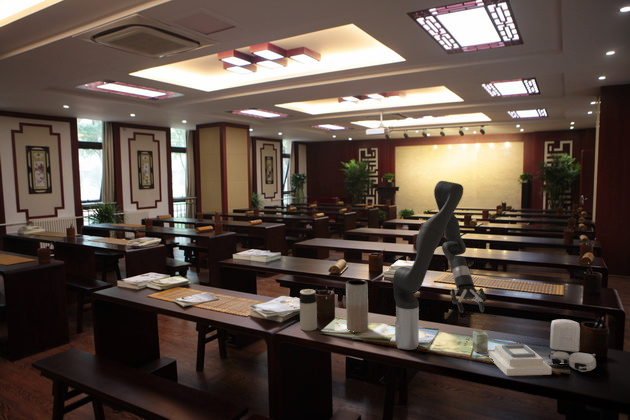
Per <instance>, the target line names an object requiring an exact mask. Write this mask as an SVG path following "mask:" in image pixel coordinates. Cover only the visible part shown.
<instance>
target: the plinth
mask: <svg viewBox="0 0 630 420" xmlns="http://www.w3.org/2000/svg"><path fill="white" fill-rule="evenodd" d="M488 355H489V356H490V357H491V358H492V359H493V361H494V362H493V361H492V362H493V364H494V365H496V366H497V367H498V369H499V370H500V371H502V372H503V374H504V375H506V376H514V377H515V376H543V375H552V366H550V365H549V363H547V362H545V361H544V358H543V357H542V356H540V355H539V354H538V353H537V352H535V351H534V350H533V349H532V348H530V347H529V346H528V345H526V344H520V343H519V344H502V345H494V349H488V353H487V356H488Z"/></svg>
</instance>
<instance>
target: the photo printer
mask: <svg viewBox="0 0 630 420" xmlns="http://www.w3.org/2000/svg"><path fill="white" fill-rule="evenodd" d="M580 331H581V327H580V323H579V322H577V321H574V320H571V319H563V318H561V319H559V318H558V319H554V320H551V325H550V338H549V339H550V340H549V341H550V342H549V348H550V349H552V350H554V351H556V350H557V351H563V352H564V351H565V352H573V353H576V352H579V351H580V338H581V337H580V336H581V332H580ZM579 353H580V352H579Z"/></svg>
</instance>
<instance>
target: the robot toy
mask: <svg viewBox="0 0 630 420" xmlns="http://www.w3.org/2000/svg"><path fill="white" fill-rule="evenodd" d="M595 356H596V354H595V353H593V354H590V353H585V352H573V353H571V354H569V353H568V352H566V351H565V352H564V351H561V350H551V352H550V353H549V355H548V358H549V359H547V360H546V363H547V364H552V363H553V364H552V365H557V364H560V363H564V364H568V365H569V367H571V368H572V369H573V370H576V371H577V370H578V371H579V372H582V373H585V372H590V371H592V370H594V369H595V368H596V367H597V360H596V358H595Z"/></svg>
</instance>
